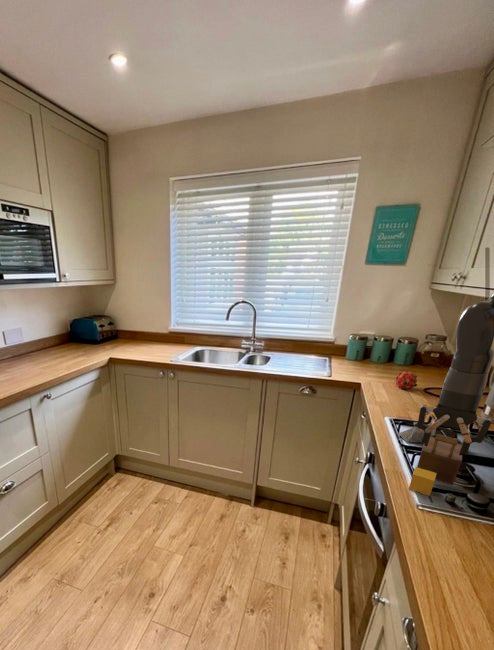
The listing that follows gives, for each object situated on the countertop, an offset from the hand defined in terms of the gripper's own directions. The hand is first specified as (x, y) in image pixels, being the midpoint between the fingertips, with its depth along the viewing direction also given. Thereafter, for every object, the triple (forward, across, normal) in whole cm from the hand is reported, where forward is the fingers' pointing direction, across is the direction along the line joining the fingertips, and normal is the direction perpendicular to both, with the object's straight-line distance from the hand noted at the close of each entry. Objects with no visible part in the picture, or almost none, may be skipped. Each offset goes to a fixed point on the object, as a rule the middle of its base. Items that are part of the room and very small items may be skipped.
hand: (442, 449), depth 84 cm
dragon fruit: (+9, +19, -80) cm, 83 cm away
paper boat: (+9, +6, -22) cm, 25 cm away
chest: (+8, 0, -4) cm, 9 cm away
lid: (+2, 0, -4) cm, 4 cm away
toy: (+9, +2, +8) cm, 12 cm away
